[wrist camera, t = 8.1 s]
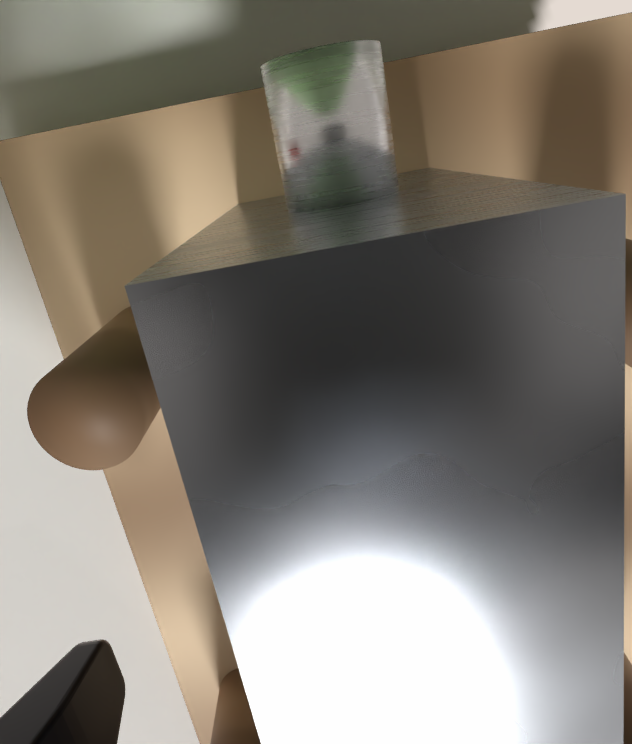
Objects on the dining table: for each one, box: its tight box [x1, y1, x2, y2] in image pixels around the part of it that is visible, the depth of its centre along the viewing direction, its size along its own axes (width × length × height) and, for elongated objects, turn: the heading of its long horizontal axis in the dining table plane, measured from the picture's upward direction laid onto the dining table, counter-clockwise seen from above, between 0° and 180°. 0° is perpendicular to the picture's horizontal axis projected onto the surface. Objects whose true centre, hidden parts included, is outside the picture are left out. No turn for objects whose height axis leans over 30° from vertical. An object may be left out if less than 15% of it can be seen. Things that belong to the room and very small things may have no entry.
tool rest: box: [0, 13, 632, 744], centre depth 10 cm, size 15×10×4 cm, turn 10°
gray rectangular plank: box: [125, 40, 626, 744], centre depth 8 cm, size 13×3×6 cm, turn 10°
